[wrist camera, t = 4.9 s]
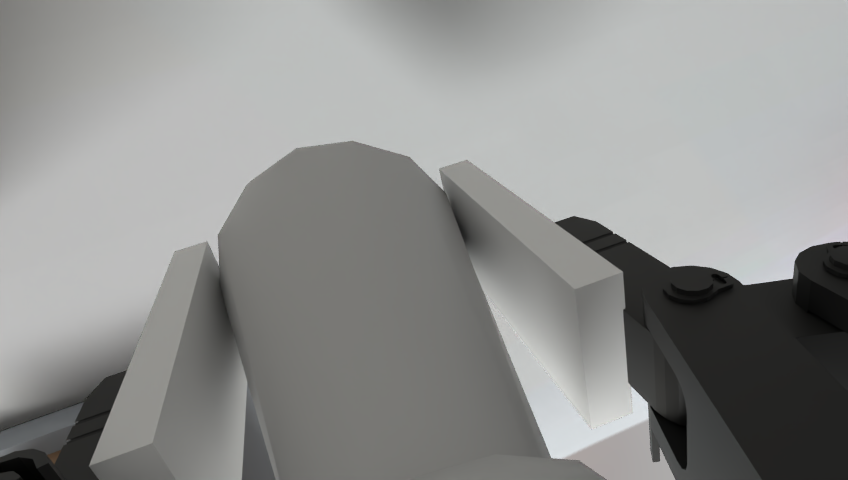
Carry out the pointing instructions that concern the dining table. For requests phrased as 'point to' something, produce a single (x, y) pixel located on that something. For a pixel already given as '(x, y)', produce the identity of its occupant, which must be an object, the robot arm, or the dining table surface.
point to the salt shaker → (371, 328)
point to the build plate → (57, 426)
